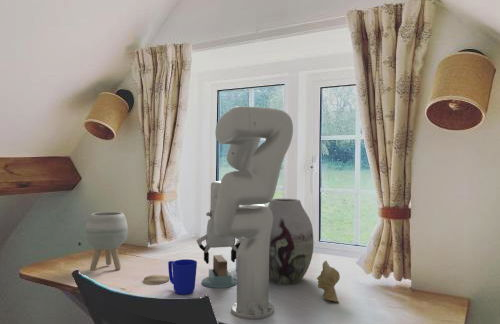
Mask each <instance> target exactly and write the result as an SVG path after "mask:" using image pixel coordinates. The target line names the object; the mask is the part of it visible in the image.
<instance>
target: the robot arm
mask: <svg viewBox="0 0 500 324" xmlns="http://www.w3.org/2000/svg"><path fill="white" fill-rule="evenodd" d="M293 132H294V125H293V120H292V117H291V116H290V115H289V113H287V112H286V111H284V110H281V109H278V108H272V107H262V106H261V107H258V106H257V107H256V106H245V105H236V106H234V107H232V108H230V109H229V110H227V112H225V113H224V114H223V115H221V117H219V120H218V121H217V123H216V127H215V139H216V141H217V142H218V143H219V144H222V145H229V148H228V151H227V154H226V162H227V163H228V165H229V166H230V167H231V168H233V169H235V170H232V171H228V172H226V173H225V174H224V175H223V176H222V178H221V180H218V181H217V180H216V181H212V182H211V183H210V209H209V211H207V212H206V213H205V214H206V217H209V218H208V220H207V225H206V227H207V228H206V232H205V233H206V234H205V235H203V236H201V237H199V238H198V239H196V240H195V241H196V244H197V245H198V247H199V249H201V250H202V252H203V261H204V262H205V264H207V265H208V264H209V263H210V262H209V261H210V253H209V250H210V249H211V248H213V249H214V248H229V247H230V248H231V250H230V260H231V262H232V263H236V251H237V249H238V251H237V268H236V279H237V284H236V302H234V303H232V305H230V306H231V307H230V309H231V310H230V311H231V313H232V314H233V315H234V316H236V317H238V318H243V319H249V320H258V319H259V320H260V319H265V318H267V317H270V316H271V315H273V314H274V312H275V311H274V309H275V308H274V305H273V304H272V303H270V302H269V301H270V300H269V299H270V297H269V291H270V289H269V288H270V280H269V246H270V236H271V230H272V225H273V214H272V212H271V210H270V209H269V208H268V205H265V204H269V203H270V201H271V200H272V199H274V196H275V193H276V190H277V186H278V181H279V178H280V173H281V168H282V165H283V161H284V159H285V157H286V154H287V152H288V150H289V148H290V146H291V143H292V140H293V134H294V133H293ZM261 139H265V140H264V142H262V143H261V144H260V142H261ZM236 240H239V241H238V243H237V242H236ZM203 242H206V243H205V246H204V245H203V244H202V243H203ZM236 243H237V244H236Z"/></svg>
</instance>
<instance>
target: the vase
mask: <svg viewBox="0 0 500 324" xmlns="http://www.w3.org/2000/svg"><path fill="white" fill-rule="evenodd" d="M267 207H268V208H269V209H270V210H271V212H272V214H273V225H272V230H271V236H270V246H269V282H271V283H274V284H277V285H294V284H297V283H299V282H301V281H302V280H303V278H304V277H305V275H306V274H307V272H308V269H309V268H310V267H309V266H310V265H311V262H312V260H313V259H312V258H313V252H314V231H313V225H312V221H311V219H310V217H309V215H308V214H307V212H306V210H305V209H304V207H303V205H302V203H301V200H300V199H296V198H273V199H272V200H271V201H270V202H269V203H268V205H267Z"/></svg>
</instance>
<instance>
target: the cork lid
mask: <svg viewBox="0 0 500 324" xmlns="http://www.w3.org/2000/svg"><path fill="white" fill-rule="evenodd" d="M168 282H170V278H169V275H167V274H166V275H165V274H152V275H147V276H145V277H144V278H143V283H145V284H147V285H161V284H167V283H168Z"/></svg>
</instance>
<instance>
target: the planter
mask: <svg viewBox="0 0 500 324" xmlns="http://www.w3.org/2000/svg"><path fill="white" fill-rule="evenodd" d="M128 226H129V225H128V221H127V217H126V215H125V214H124V213H123V212H122V211H99V212H93V213H91V214H90V215H89V217H88V219H87V221H86V226H85V238H86V241H87V243H88V244H89V245H90V246H91V247H92V248H93V250H94V252H93V256H92V260H91V263H90V268H89V271H90V272H94V271H96V269H97V266H98V263H99V260H100V256H101V254H102V251H104V252H105V264H106V265H107V266H111V265H112V261H113V265H114V268H115V270H116V271H119V270H121V263H120V262H121V261H120V256H119V251H118V249H119V248H120V246H121V245H122V244H123V243H124V242H125V241H126V239H127V237H128V234H129V233H128V232H129V227H128Z"/></svg>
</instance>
